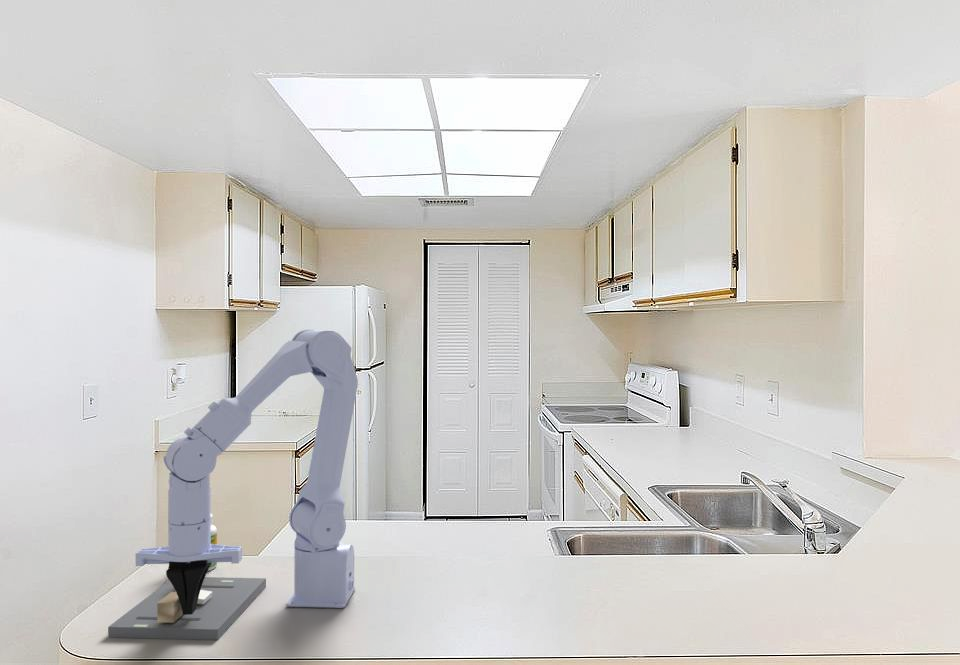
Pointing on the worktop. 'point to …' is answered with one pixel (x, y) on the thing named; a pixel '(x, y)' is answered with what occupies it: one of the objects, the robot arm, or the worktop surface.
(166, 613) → the tan cardboard carton
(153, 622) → the switch panel
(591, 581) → the worktop surface
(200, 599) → the off-white rocker
